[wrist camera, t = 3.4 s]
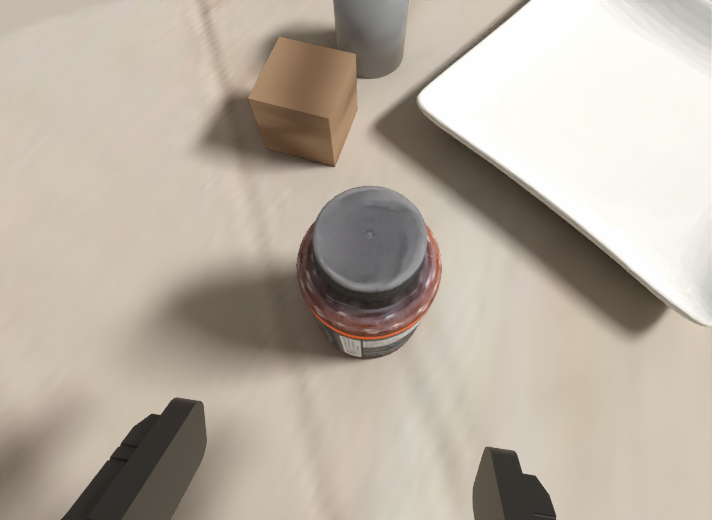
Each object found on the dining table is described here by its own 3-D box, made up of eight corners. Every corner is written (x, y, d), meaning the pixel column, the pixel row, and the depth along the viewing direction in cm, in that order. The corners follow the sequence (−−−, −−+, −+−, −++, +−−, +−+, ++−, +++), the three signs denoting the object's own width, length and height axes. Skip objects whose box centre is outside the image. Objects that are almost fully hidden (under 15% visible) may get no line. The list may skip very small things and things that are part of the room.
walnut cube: (266, 149, 29) (247, 98, 24) (292, 94, 31) (279, 36, 26) (334, 167, 28) (328, 118, 24) (357, 110, 30) (355, 53, 25)
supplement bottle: (311, 272, 26) (273, 171, 15) (405, 255, 26) (434, 145, 15) (325, 370, 24) (293, 334, 13) (428, 351, 24) (479, 300, 13)
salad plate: (835, 127, 29) (894, 91, 26) (674, 346, 24) (722, 336, 21) (578, -21, 34) (600, -65, 31) (403, 133, 29) (408, 99, 26)
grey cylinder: (324, 58, 32) (315, -20, 26) (364, 18, 33) (364, -63, 27) (376, 89, 30) (379, 15, 25) (416, 47, 32) (427, -32, 26)
